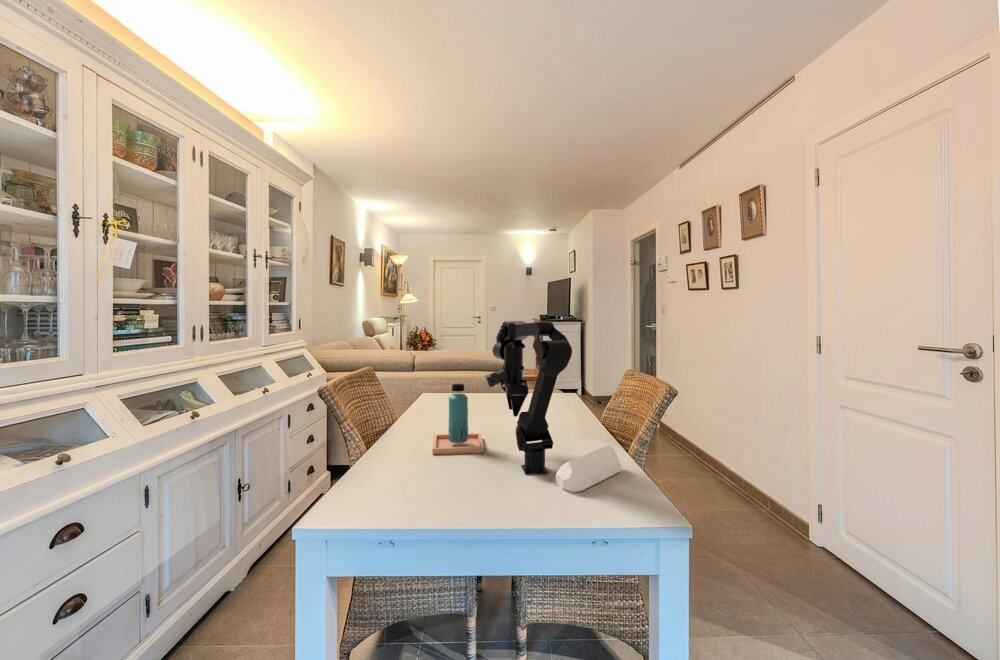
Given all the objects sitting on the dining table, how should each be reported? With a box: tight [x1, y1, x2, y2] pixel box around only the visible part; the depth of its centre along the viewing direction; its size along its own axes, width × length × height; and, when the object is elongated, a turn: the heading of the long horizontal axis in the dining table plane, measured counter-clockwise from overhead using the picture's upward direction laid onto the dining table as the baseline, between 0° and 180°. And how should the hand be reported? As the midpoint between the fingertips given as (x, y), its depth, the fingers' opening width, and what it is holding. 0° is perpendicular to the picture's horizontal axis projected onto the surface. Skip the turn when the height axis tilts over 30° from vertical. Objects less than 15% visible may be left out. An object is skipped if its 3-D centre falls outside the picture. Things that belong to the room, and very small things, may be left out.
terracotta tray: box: [432, 432, 485, 455], centre depth 144 cm, size 16×16×2 cm
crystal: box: [555, 444, 622, 493], centre depth 117 cm, size 7×7×24 cm
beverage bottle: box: [447, 383, 469, 443], centre depth 143 cm, size 6×7×20 cm
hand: (513, 412), depth 135 cm, fingers open, 9 cm apart
